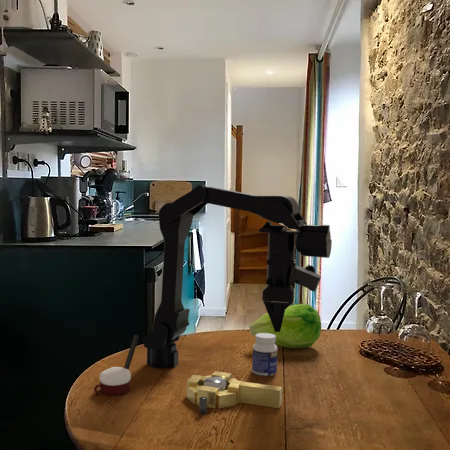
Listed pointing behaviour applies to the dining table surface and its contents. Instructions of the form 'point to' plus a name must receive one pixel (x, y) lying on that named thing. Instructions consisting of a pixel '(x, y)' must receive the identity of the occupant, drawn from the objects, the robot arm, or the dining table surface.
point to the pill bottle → (264, 355)
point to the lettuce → (292, 327)
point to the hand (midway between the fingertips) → (278, 326)
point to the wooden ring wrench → (233, 392)
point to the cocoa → (117, 376)
